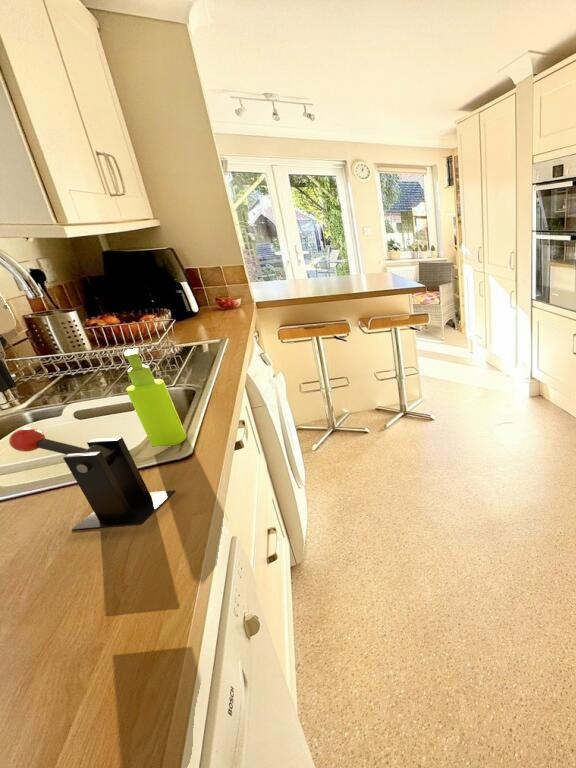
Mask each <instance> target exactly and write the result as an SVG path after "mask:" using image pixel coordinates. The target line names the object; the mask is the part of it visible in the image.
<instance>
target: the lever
mask: <svg viewBox="0 0 576 768" xmlns="http://www.w3.org/2000/svg"><path fill="white" fill-rule="evenodd" d="M8 443H9V446H10V447H11V448H12V449H14V450H15V451H18V452H26V453H27V452H33V451H36V450H38V449H42V450H45V451H49V452H55V453H58V454H63V455H65V456H67V455H68V454H75V453H88V452H101V453H102V455H103V456H104V458H105V460H106V462H107V464H108V466H110V465H111V464H112V463H114V462H115V451H116V450H115V449H111V448H107V447H103V446H99V445H93V446H91V447H90V448H89V447H88V448H84V447H80V446H77V445H73V444H68V443H65V442H61V441H56V440H52V439H49V438H46V435H45V434H44V432H43V431H42V430H40V429H37V428H33V427H24V428H21V429H18V430H16V431H14V432H12V434H11V435H10V437H9V439H8Z"/></svg>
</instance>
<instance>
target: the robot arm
mask: <svg viewBox="0 0 576 768" xmlns="http://www.w3.org/2000/svg"><path fill="white" fill-rule="evenodd" d="M16 327H17V321H16V318H15V316H14V314H13V312H12V310H11V308H10V306H9V305H8V303H7V302H6V299H5V297H3V295H2V293H1V292H0V393H5V392H7V391H9V390H11V389H14V388H16V387H17V386H18V385H17V383H16V381H15V379H14V378H13V376H12V375H11V373H10V371H9V370H8V368H7V366H6V364H5V363H4V360H5V359H6V352H5V348H6V346H7V343H10V342H11V341H13V340H14V339H16V338H17V337H18V336H19V333H18V331H17V330H16V329H15V328H16Z"/></svg>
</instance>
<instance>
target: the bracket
mask: <svg viewBox="0 0 576 768" xmlns="http://www.w3.org/2000/svg"><path fill="white" fill-rule="evenodd" d="M86 444H87V446H88V448H90V447H91V446H93V445H99V446H103V447H107V448H111V449H115V450H116V451H115V462H114V463H112V464H111V465H110V466H108V464H107V462H106V460H105V458H104V456H103V455H102V453H101V452H88V453H75V454H68V455H65V456H63V457H62V458H63V459H62V460H64V462H65V464H66V466H67V467H68V470H69V471H70V473H71V474H72V476H73V478H74V480H75V482H76V483H77V486H78V487H79V488H80V490H81V492H82V493H83V495H84V497H85V499H86V501H87V503H88V504H89V506H90V508H91V509H92V512H91V513H90V514H88V515H87V516H86V517H85V518H84V519H82V520H80V522H79V523H77V525H75V526H73V528H72V529H71V531H72V532H74V531H76V532H77V531H85V530H86V531H87V530H97V529H106V528H119V527H130V526H131V527H133V526H140V525H141V526H142V525H143V524H145V522H146V521H147V520H148V519H149V518H151V516H152V515H153V514H154V513H156V511H158V510H159V508H161V506H162V505H163V504H164V503H166V501H168V500H169V499H170V498H171V496H173V495H174V494H175V493H176V490H175V489H173V490H161V491H149V489H148V487H147V485H146V483H145V481H144V478H143V477H142V474H141V473H140V471H139V469H138V467H137V465H136V462H135V460H134V458H133V456H132V455H131V452H130V450H129V448H128V446H127V444H126V442H125V440H124V438H123V437H122V436H121V437H120V436H119V437H107V438H106V437H105V438H92V439H91V440H89V441H87V442H86Z"/></svg>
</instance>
